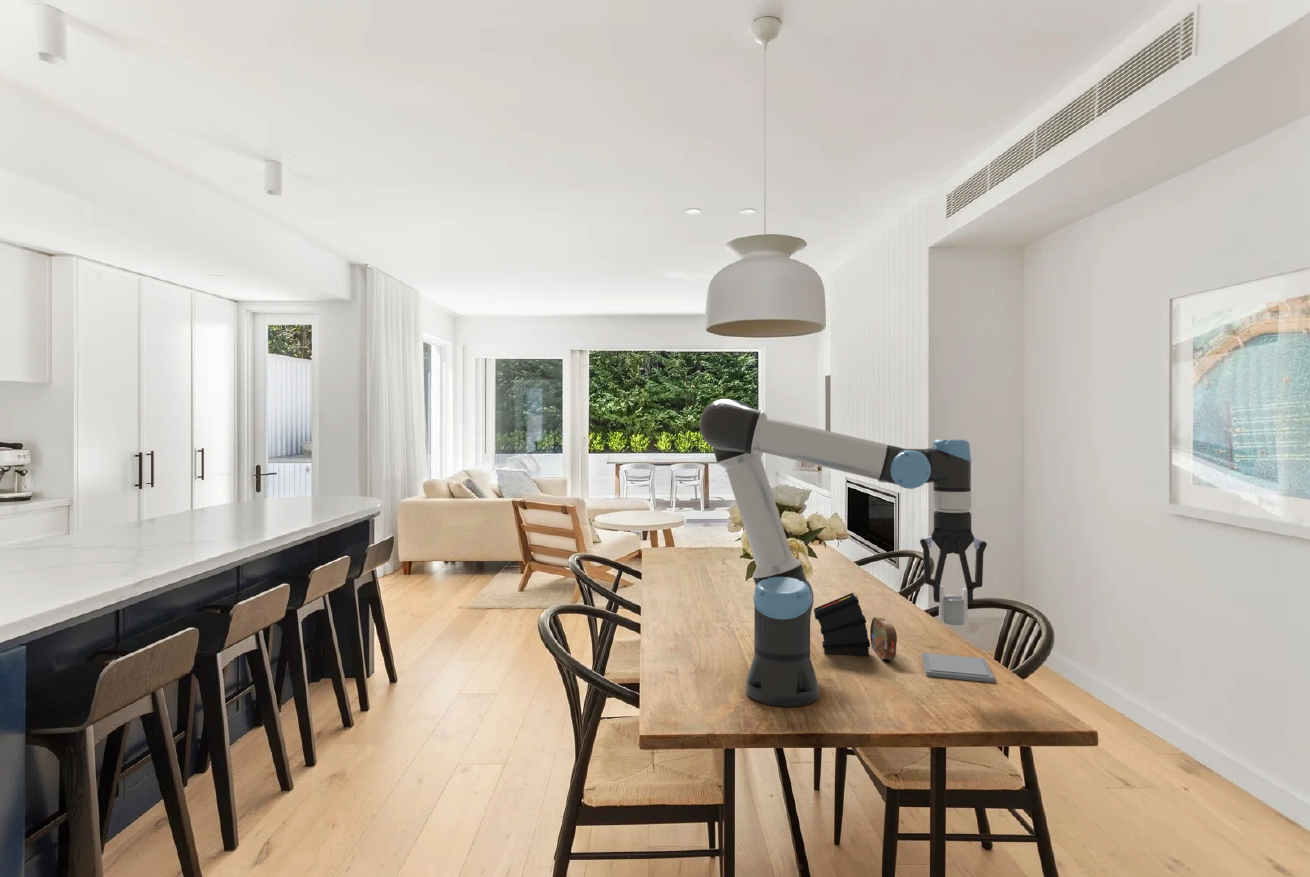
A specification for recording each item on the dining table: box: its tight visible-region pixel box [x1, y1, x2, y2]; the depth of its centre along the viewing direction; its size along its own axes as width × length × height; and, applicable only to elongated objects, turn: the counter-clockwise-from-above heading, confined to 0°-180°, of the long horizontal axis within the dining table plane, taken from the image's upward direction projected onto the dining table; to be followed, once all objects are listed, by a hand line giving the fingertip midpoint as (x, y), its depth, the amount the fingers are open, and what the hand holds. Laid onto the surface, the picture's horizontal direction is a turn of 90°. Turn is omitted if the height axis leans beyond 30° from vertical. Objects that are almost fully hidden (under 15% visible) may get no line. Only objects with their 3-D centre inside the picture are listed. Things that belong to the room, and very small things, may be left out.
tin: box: [869, 617, 898, 661], centre depth 170 cm, size 15×3×8 cm, turn 177°
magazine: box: [813, 592, 871, 657], centre depth 171 cm, size 4×13×15 cm, turn 78°
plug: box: [942, 593, 965, 626], centre depth 149 cm, size 4×9×5 cm, turn 161°
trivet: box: [921, 652, 996, 684], centre depth 159 cm, size 14×14×1 cm
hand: (953, 617), depth 148 cm, fingers closed on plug, 4 cm apart
